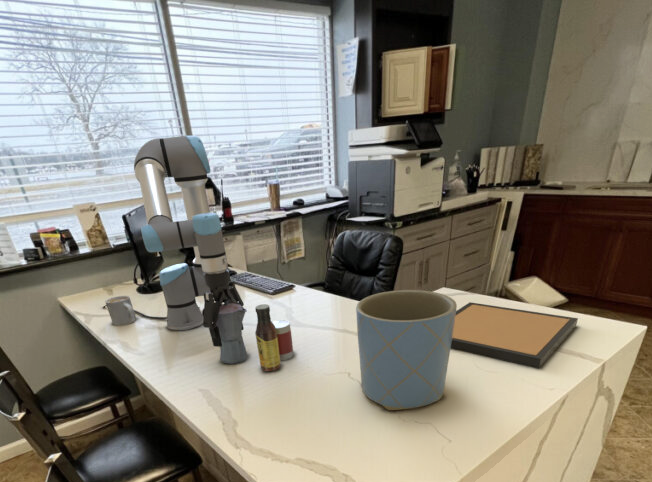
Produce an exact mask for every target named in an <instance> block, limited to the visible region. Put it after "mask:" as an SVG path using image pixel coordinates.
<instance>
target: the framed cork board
mask: <svg viewBox="0 0 652 482" xmlns="http://www.w3.org/2000/svg"><path fill="white" fill-rule="evenodd" d="M578 320H579V318H578V317H573V316H572V317H571V316H566V315H565V316H564V315H559V314H551V313H544V312H537V311H531V310H525V309H518V308H511V307H504V306H497V305H490V304H484V303H477V302H471V301H469V302H468V303H467V304H464V305H463V306H461V307H460V308H459V309H456V315H455V322H454V330H453V337H452V343H451V349H450V350H456V351H459V352H465V353H470V354H474V355H479V356H483V357H488V358H491V359H496V360H500V361H505V362H508V363H513V364H518V365H523V366H526V367H530V368H531V367H532V368H535V369H540V368H541V367H542V365H543V364H544V363H545V362H546V361H547V360H548V359H549V358H550V357H551V356H552V354H553V353H554V352H555V351H556V350H557V349H558V348H559V346H560V345H561V344H562V343H563V342H564V341H565V340H566V339H567V337H568V336H569V335H570V334H571V333H572V332H573V331H574V330H575V329H576V328H577V324H578Z"/></svg>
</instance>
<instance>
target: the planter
mask: <svg viewBox="0 0 652 482" xmlns="http://www.w3.org/2000/svg"><path fill="white" fill-rule="evenodd" d="M457 307H458V306H457V302H456V300H454V299H453V298H452V297H451V296H448V295H446V294H444V293H439V292H435V291H430V290H419V289H400V290H399V289H398V290H389V291H383V292H378V293H375V294H374V293H373V294H372V295H368V296H366V297H364V298H362V299H361V300H360V301H358V302H357V304H356V306H355V313H356V325H357V326H356V328H357V329H356V330H357V331H356V332H357V345H358V355H359V368H360V381H361V389H362V392H363V393H364V395H365V396H366V397H367V398H368V399H370V400H371V401H373V402H375V403H377V404H379V405H381V406H382V407H383V408H384V409H386V410H387V411H399V410H408V409H416V408H421V407H424V406H428V405H430V404H434V403H435V402H438V401H440V399H442V398H443V394H444V391H445V388H446V387H445V386H446V381H447V372H448V368H449V367H448V366H449V360H450V353H451V350H452V349H451V343H452V337H453V330H454V322H455V315H456V311H457Z"/></svg>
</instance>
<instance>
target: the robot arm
mask: <svg viewBox="0 0 652 482" xmlns="http://www.w3.org/2000/svg"><path fill="white" fill-rule="evenodd" d="M133 171H134V172H133V173H134V176H135V179H136V180H137V181H138V183H139V185H140V190H141V196H142V197H141V198H142V201H143V206H144V211H145V217H146V222H147V224H146V225H142V226H141V228H140V232H141V233H140V234H141V236H142V240H143V244H144V247H145V249H146V251H147V252H148V253H159V252H160V253H162V252H169V251H174V250H180V249H186V248H193V252H194V256H195V257H194V259H193V260H192V264H193V266H189V265H188V264H187V263H185V262H183V263H177V264H173V265H169V266H167V267H165V268H163V269H161V271H159V273H158V277H159V283H160V286H161V289H162V293H163V297H164V301H165V304H166V305H165V306H166V309H167V310H166V311H167V312H166V316H150V315H146V314H144V313H142V312H139V311H138V310H135V309H133V310H134V313H135V314H138V315H141V316H142V317H144V318H147V319H153V320H154V319H155V320H166V325H167V328H168V329H169V330H170V331H178V332H179V331H186V330H192V329H196V328H198V327H200V326H203V328H207V329H208V331H209V336H210V338H211V342H212V346H213V347H217V348H220V347H221V346H222V342H221V338H220V333H219V328H218V326H216V324H217V319H218V314H219V309H220V306H221V305H222V304H224V302H223V301H224V300H225V299H228V303H235V304H239V305H241V306H242V308H244V305H245V304H244V301H243V299H242V297H241V295H240V293H239V292H238V289H237V288H236V284H235V281H234V280H231V279H232V278H231V274H230V270H229V263H228V259H227V253H226V249H225V248H226V247H225V243H224V236H223V231H222V227H223V226H222V224H221V220H220V216H219V215H218V213H216V212H211V211H210V205H209V200H208V196H207V190H206V183H207V181H208V180H209V178H208V175H209V174H211V171H212V170H211V166H210V162H209V157H208V155H207V151H206V148H205V146H204V143H203V141H202V139H201V137H200V136H197V135H180V136H171V137H161V138H160V137H159V138H153V139H149V140H148V141H147V142H145V143H144V144H143V145H142V146H141V147H140V149H139V150H138V151H137V153H136V155H135V158H134V162H133ZM167 178H168V179H169V178H173V180H174V184H175V185H177V186H178V187H179V188H180V192H181V197H182V200H183V206H184V210H185V215H186V220H179V221H174V220H173V215H172V211H171V207H170V202H169V197H168V193H167V189H166V184H165V180H166V179H167ZM197 297H203V300H204V301H203V303H204V304H203V309H204V317H203V314H202V310H201V307H200V306H199V304H197V300H196V298H197ZM104 305H105V306H107V305H106V304H104ZM104 305H103V307H102V308H103V309H105V308H106V307H105V306H104ZM242 331H244V324H243V322H242Z"/></svg>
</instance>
